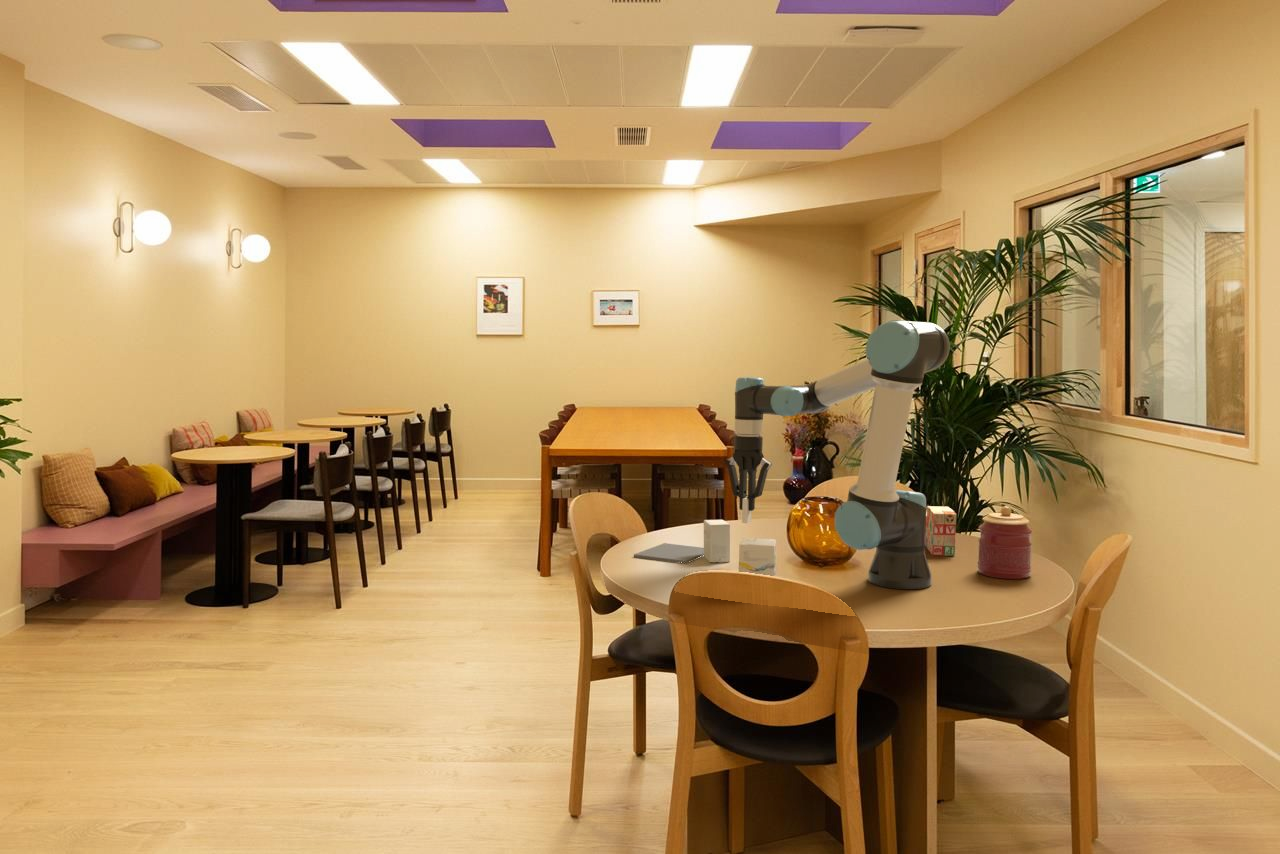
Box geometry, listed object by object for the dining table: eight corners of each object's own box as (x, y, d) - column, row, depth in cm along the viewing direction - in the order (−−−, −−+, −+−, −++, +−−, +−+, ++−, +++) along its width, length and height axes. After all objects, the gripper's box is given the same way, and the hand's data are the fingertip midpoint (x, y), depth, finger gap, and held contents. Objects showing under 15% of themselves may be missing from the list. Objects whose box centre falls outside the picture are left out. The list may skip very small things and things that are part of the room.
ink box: (774, 594, 220) (774, 545, 219) (737, 592, 222) (738, 543, 221) (776, 585, 228) (776, 538, 228) (741, 583, 230) (741, 537, 229)
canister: (966, 570, 246) (968, 503, 244) (1005, 566, 250) (1007, 501, 249) (1001, 581, 233) (1004, 511, 232) (1042, 577, 238) (1045, 509, 237)
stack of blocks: (920, 540, 285) (922, 500, 284) (942, 541, 284) (943, 501, 283) (932, 555, 264) (933, 512, 263) (955, 556, 263) (956, 513, 262)
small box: (729, 562, 253) (730, 524, 252) (709, 563, 252) (710, 524, 252) (722, 556, 261) (723, 519, 260) (703, 556, 260) (703, 519, 260)
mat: (713, 551, 267) (713, 548, 267) (685, 563, 251) (685, 560, 251) (664, 545, 275) (664, 543, 275) (633, 557, 259) (633, 554, 259)
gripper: (776, 435, 250) (774, 522, 252) (731, 432, 256) (730, 517, 258) (766, 437, 243) (764, 527, 245) (720, 434, 250) (718, 521, 252)
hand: (746, 522), depth 252 cm, fingers closed
